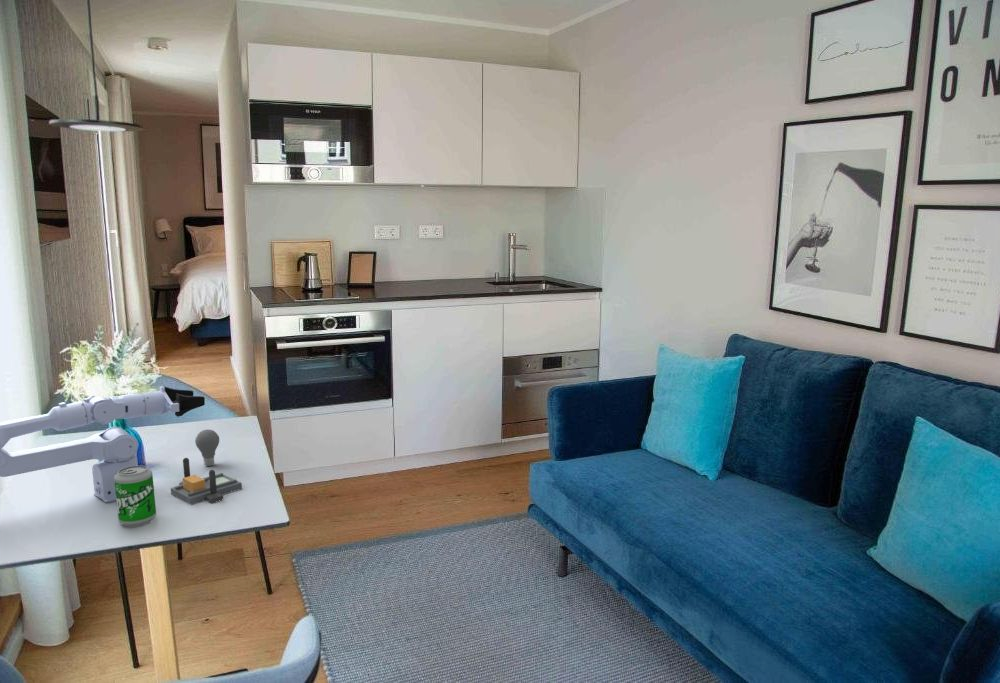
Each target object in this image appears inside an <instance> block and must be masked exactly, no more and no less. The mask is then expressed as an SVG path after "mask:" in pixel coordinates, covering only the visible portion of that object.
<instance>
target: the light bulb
mask: <svg viewBox="0 0 1000 683" xmlns="http://www.w3.org/2000/svg"><path fill="white" fill-rule="evenodd" d="M219 444H220V436H219V434H218V433H217V432H216V431H215V430H213V429H209V428H208V429H203V430H201V431H199V432H198V433H197V435H196V437H195V446H196V448H197V449H198V450H199V452H200V453H201V456H202V458H203V465H204V466H207V467H210V466H211V467H212V466H213V465H214V464H215V455H216V450H217V448H218V447H219Z"/></svg>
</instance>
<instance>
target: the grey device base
mask: <svg viewBox="0 0 1000 683" xmlns="http://www.w3.org/2000/svg"><path fill="white" fill-rule="evenodd" d="M215 476H216V488H217V493H215V494H211V493H210V481H209V476H206V477H203V478H202V477H201V478H202V479H205V488H204V489H201V490H197V491H194V492H190V491H188V490H187V489H185V488H183V481H181V482H179V484H178V485H176V486H172V487H170V494H171V495H172V496H174V497H176V498H178V499H179V500H182V501H183V502H185V503H187V504H189V505H190V504H191V505H195V504H197V502H198V503H200V501H201V502H203V500H204V501H205V502H208V503H210V504H213V502H214V503H217V502H220V501H223V500H224V495H226V494H229V493H232V492H235V491H234V490H236V491H238V489H239V490H241V488H242V489H243V486H242V482H241V481H239V480H237V479H236V478H232V477H230V476H228V475H225V474H224V473H222V472H220V473H215ZM231 491H232V492H231ZM228 492H229V493H228ZM225 493H226V494H225ZM222 494H223V495H222ZM222 499H223V500H222ZM219 500H220V501H219ZM216 501H217V502H216Z"/></svg>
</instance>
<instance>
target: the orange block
mask: <svg viewBox="0 0 1000 683" xmlns="http://www.w3.org/2000/svg"><path fill="white" fill-rule="evenodd" d="M182 482H183V488H185V489H187V490H188V491H190V492H194V491H197V490H201V489H204V488H205V479H202V477H201V476H198V475H196V474H192V475H190V476H188V477H185V478H184V477H182Z"/></svg>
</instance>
